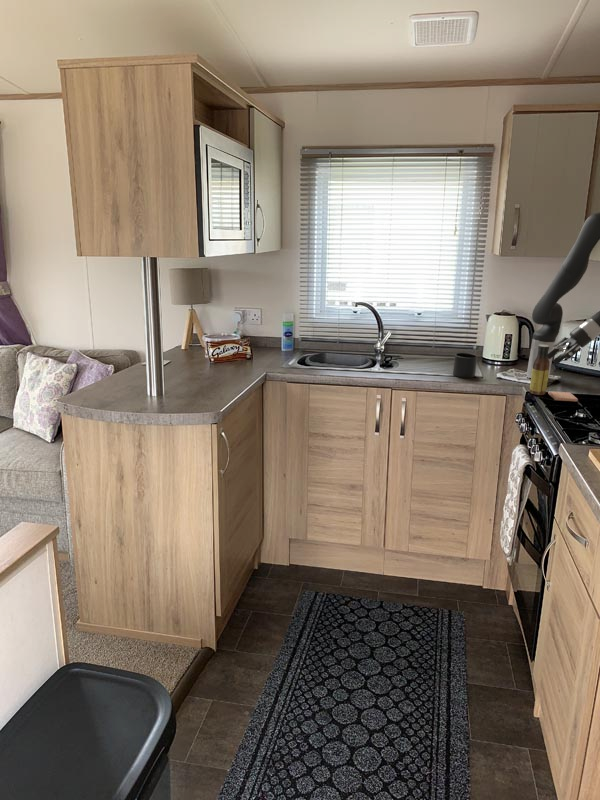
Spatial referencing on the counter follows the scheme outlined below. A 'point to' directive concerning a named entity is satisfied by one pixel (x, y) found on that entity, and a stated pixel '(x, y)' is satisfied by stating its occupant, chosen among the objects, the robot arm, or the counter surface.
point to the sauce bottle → (540, 371)
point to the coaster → (562, 396)
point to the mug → (465, 365)
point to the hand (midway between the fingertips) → (551, 359)
